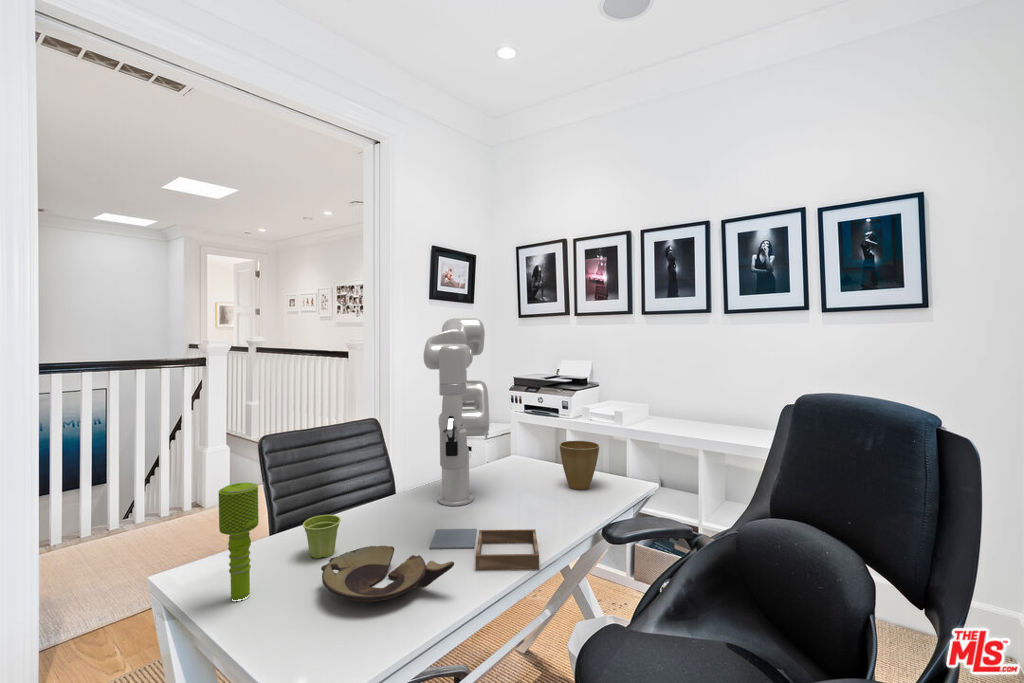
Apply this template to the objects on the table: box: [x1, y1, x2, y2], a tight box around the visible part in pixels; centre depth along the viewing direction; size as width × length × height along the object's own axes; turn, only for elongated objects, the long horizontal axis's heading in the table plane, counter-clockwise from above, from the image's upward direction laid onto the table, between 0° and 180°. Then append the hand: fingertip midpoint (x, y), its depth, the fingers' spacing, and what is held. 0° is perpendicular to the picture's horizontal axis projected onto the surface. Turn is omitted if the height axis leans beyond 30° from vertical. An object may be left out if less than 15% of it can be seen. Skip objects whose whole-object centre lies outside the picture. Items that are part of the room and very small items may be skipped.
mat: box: [429, 528, 478, 550], centre depth 137 cm, size 12×12×1 cm
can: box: [439, 424, 468, 470], centre depth 137 cm, size 8×8×12 cm
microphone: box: [218, 482, 259, 600], centre depth 108 cm, size 8×8×25 cm
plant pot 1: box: [302, 514, 342, 559], centre depth 129 cm, size 9×9×9 cm
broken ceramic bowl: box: [320, 545, 455, 602], centre depth 110 cm, size 22×30×8 cm
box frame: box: [475, 528, 540, 571], centre depth 127 cm, size 16×16×4 cm
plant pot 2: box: [559, 440, 600, 491], centre depth 182 cm, size 15×15×16 cm
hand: (453, 451), depth 137 cm, fingers closed on can, 7 cm apart
